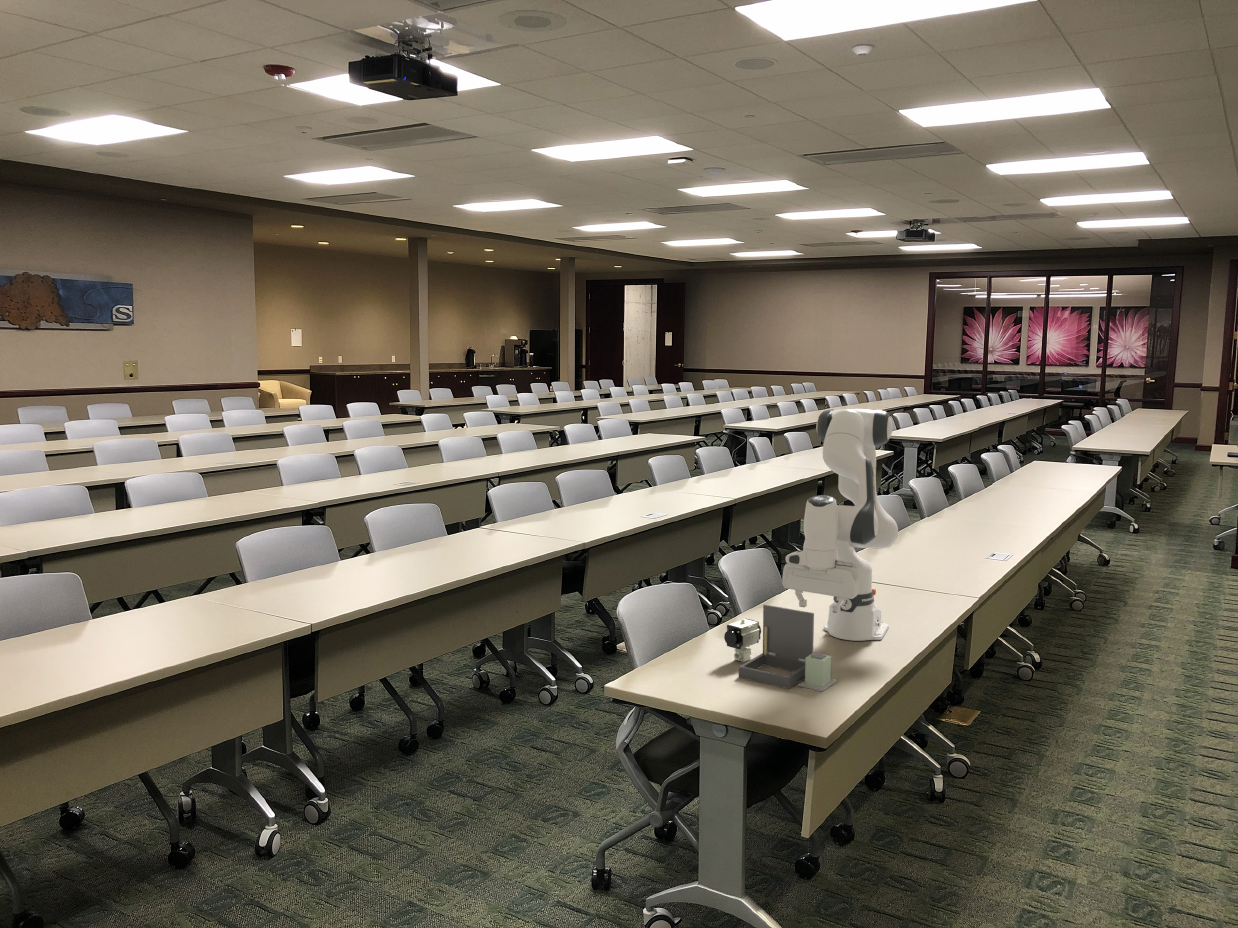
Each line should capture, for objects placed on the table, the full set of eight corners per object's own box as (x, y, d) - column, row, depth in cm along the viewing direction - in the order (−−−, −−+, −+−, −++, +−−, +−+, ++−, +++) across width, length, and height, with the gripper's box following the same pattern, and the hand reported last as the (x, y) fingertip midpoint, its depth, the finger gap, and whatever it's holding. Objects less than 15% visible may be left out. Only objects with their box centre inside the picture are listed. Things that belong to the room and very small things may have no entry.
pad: (812, 676, 245) (812, 674, 245) (836, 681, 241) (837, 680, 241) (798, 685, 238) (798, 684, 238) (823, 691, 233) (823, 690, 233)
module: (813, 677, 243) (813, 650, 242) (830, 681, 240) (831, 653, 239) (805, 682, 239) (805, 655, 238) (822, 686, 236) (823, 659, 235)
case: (764, 662, 256) (765, 604, 254) (813, 672, 247) (814, 612, 245) (738, 677, 244) (739, 616, 242) (789, 689, 235) (790, 626, 233)
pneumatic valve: (723, 662, 256) (723, 622, 254) (748, 653, 264) (748, 613, 262) (738, 667, 252) (739, 626, 250) (763, 657, 260) (764, 617, 259)
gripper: (863, 561, 231) (861, 613, 233) (790, 551, 243) (789, 600, 245) (853, 566, 226) (852, 619, 228) (780, 555, 238) (779, 606, 240)
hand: (819, 609), depth 237 cm, fingers open, 8 cm apart
